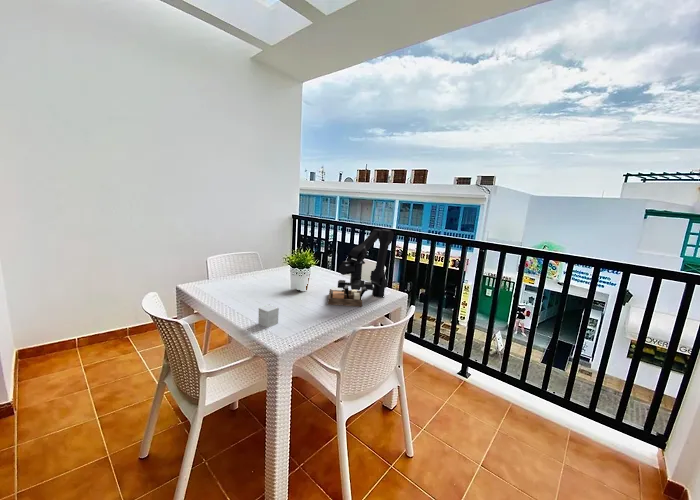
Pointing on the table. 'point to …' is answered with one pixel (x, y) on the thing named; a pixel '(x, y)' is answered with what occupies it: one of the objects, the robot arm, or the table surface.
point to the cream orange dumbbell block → (341, 295)
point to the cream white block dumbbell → (341, 290)
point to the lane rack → (345, 301)
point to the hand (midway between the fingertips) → (353, 300)
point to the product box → (268, 315)
